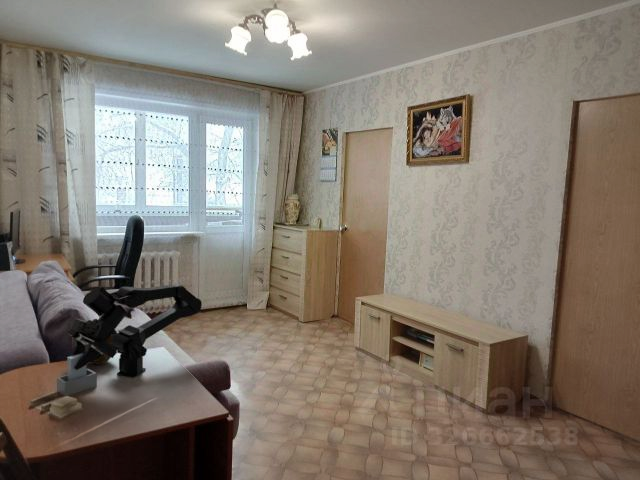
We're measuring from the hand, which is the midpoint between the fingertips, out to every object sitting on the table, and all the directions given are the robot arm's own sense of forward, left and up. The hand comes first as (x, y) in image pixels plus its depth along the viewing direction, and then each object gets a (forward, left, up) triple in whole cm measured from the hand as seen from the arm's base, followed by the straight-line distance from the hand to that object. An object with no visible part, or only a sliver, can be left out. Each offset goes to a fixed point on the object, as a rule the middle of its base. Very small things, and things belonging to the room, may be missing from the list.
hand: (72, 367), depth 135 cm
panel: (-1, -1, -7) cm, 7 cm away
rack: (-3, +10, -8) cm, 13 cm away
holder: (-1, -1, -8) cm, 8 cm away
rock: (+8, -20, -8) cm, 23 cm away
